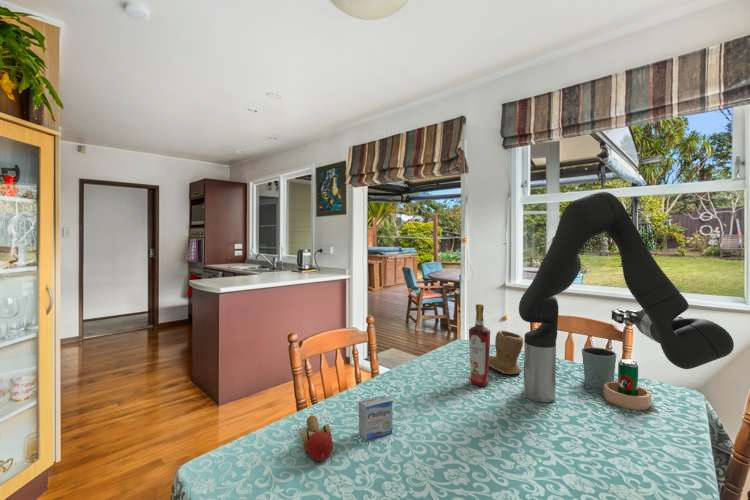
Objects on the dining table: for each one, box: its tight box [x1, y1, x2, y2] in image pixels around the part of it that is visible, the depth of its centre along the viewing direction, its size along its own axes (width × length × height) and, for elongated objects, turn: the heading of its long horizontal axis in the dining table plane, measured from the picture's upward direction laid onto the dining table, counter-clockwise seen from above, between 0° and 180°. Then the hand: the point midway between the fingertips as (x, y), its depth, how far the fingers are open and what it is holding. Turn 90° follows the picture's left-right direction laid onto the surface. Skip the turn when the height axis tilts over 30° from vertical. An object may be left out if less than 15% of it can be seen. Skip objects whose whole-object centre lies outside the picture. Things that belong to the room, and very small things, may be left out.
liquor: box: [468, 303, 491, 387], centre depth 123 cm, size 7×7×28 cm
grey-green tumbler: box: [581, 346, 618, 390], centre depth 121 cm, size 10×10×12 cm
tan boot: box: [489, 330, 524, 375], centre depth 137 cm, size 15×12×15 cm
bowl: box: [603, 380, 652, 411], centre depth 108 cm, size 12×12×4 cm
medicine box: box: [358, 395, 393, 442], centre depth 91 cm, size 8×4×9 cm, turn 118°
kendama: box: [300, 414, 334, 462], centre depth 86 cm, size 8×6×18 cm
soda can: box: [617, 358, 639, 396], centre depth 108 cm, size 5×5×12 cm
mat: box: [597, 390, 660, 414], centre depth 108 cm, size 13×11×1 cm
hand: (636, 312), depth 98 cm, fingers open, 8 cm apart
